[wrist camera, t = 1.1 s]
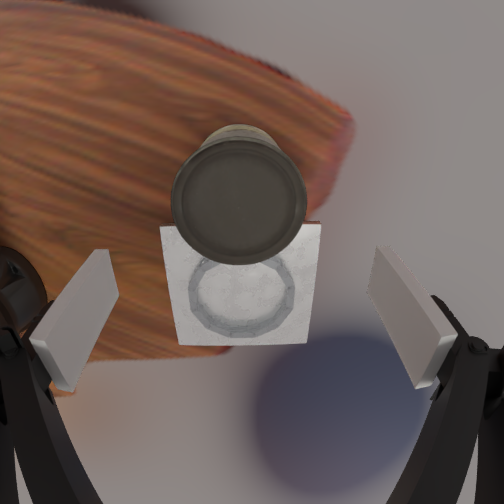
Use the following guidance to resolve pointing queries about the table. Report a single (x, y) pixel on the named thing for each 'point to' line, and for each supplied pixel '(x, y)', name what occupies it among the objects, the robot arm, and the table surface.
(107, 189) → the table surface
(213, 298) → the duct collar
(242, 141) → the coffee can
